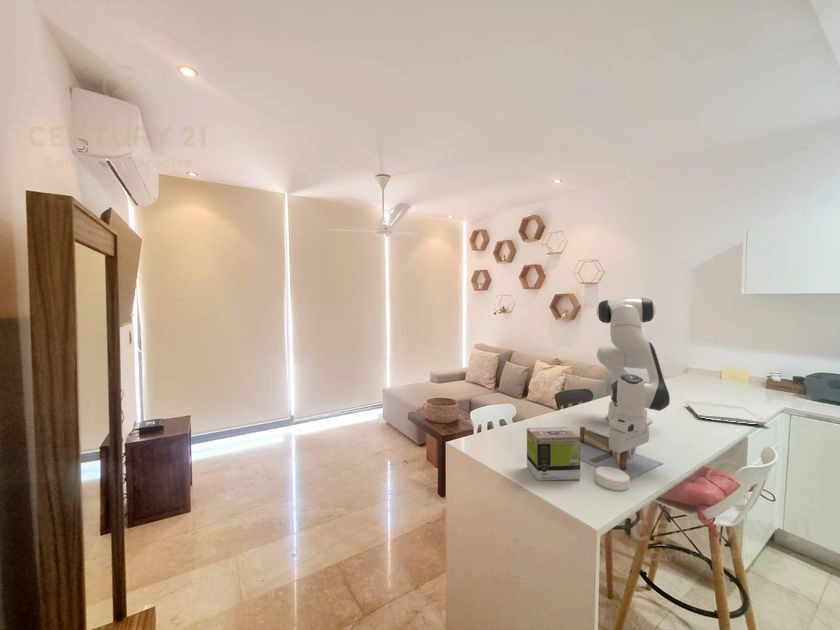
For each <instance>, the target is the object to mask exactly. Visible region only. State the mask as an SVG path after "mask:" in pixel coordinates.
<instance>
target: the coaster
mask: <svg viewBox="0 0 840 630" xmlns="http://www.w3.org/2000/svg"><path fill="white" fill-rule="evenodd" d="M594 480H595V482H596V483H597V484H599V485H600V486H602V487H603V488H605V489H608V490H612V491H619V492H622V491H623V492H624V491H627V490H629V488H630V486H631V485H630V484H631V482H630V480H631V479H630V478H629V476H628V475H627V474H626V473H625V472H623V471H621V470H619V469H616V468H612V467H598V468H597V467H595V470H594Z"/></svg>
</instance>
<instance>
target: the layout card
mask: <svg viewBox="0 0 840 630" xmlns="http://www.w3.org/2000/svg"><path fill="white" fill-rule="evenodd" d="M580 462H584V463H587V464H588V465H591V466H593V467H595V468H598V467H612V468H616V469H619V470H621V471H623V472H625V473H626V474H627V475H628V476H629V478H630V480H633V479H634V478H636V477H639V476H641V475H643V474H645V473H647V472H650V471H651V470H653V469H655V468H657V467H660V466H662V465H664V462H661V461H658V460H657V459H653V458H650V457H647V456H644V455H641V454H638V453H636V452H635V453H634V458H633V459H631V460H628V459H627V469H626V470H622V469H620V468H619V463H618V462H617V460H616V459H615V457H614V456H613V454H610V448H609V451H606V450H603V449H601V448H598V447H595V446H593V445H590V444H587V443H581V442H580Z"/></svg>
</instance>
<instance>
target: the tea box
mask: <svg viewBox="0 0 840 630" xmlns="http://www.w3.org/2000/svg"><path fill="white" fill-rule="evenodd" d="M526 465H527V466H526V467H527V468H528V470H529V472H532V473H531V474H532V476H533V477H534V478H535V479H536V480H537V481H563V480H564V481H566V480H570V481H571V480H572V481H573V480H581V460H580V435H577V434H575V432H573V431H572V430H570V429H569V428H568V427H563V426H562V427H536V428H535V427H534V428H533V427H532V428H531V427H529V428H526Z"/></svg>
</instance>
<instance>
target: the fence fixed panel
mask: <svg viewBox="0 0 840 630" xmlns="http://www.w3.org/2000/svg"><path fill="white" fill-rule="evenodd" d="M579 437H580V442H581V443H587V444H590V445H593V446H595V447H598V448H601V449H603V450H606V451H609V435H608V436H607V435H604V434H601V433H599V432H595V431H592V430H590V429H588V428H587V427H584V426H580V427H579ZM610 454H613V451H612V450H610Z"/></svg>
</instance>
